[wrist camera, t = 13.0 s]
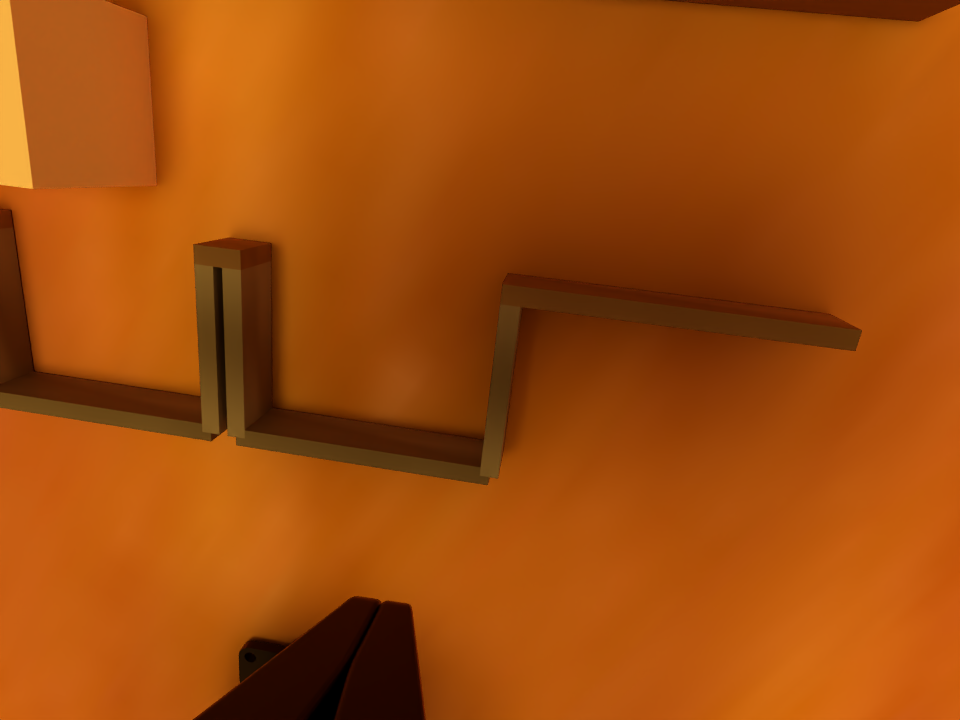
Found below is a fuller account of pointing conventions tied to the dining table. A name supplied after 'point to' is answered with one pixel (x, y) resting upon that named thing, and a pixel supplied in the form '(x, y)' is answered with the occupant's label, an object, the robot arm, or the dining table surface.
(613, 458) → the dining table surface
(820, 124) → the dining table surface
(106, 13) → the cream block
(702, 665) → the dining table surface
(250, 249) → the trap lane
